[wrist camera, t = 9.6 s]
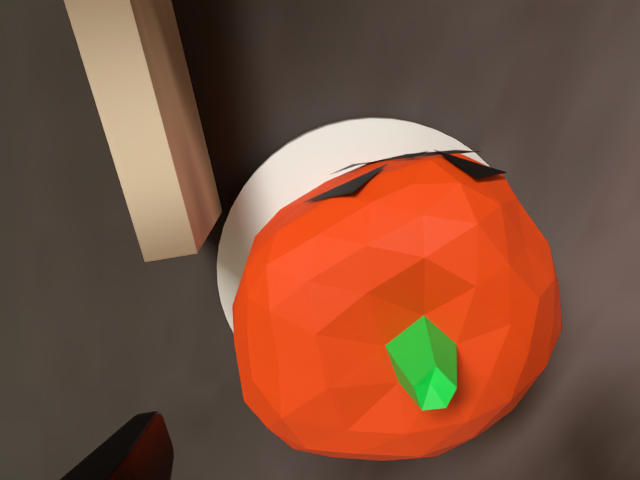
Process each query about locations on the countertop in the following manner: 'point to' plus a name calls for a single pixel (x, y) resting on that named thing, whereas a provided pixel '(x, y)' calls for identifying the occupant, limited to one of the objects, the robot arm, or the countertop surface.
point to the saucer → (312, 179)
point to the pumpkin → (395, 309)
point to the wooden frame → (149, 120)
